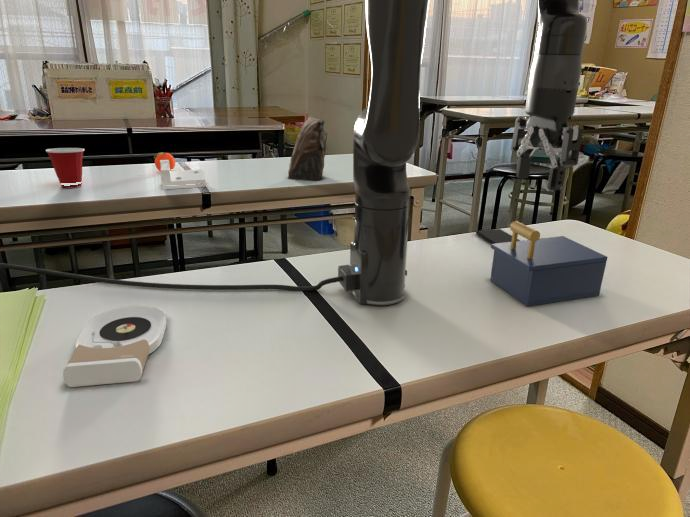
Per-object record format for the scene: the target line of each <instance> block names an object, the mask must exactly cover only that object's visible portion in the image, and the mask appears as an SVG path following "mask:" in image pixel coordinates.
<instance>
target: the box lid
mask: <svg viewBox="0 0 690 517" xmlns="http://www.w3.org/2000/svg"><path fill="white" fill-rule="evenodd" d="M509 230H510V231H511V232H512V241H511V242H504V243H495V244H492V243H490V244H491V245H490V249H492V250H493V251H494V250H495V251H497V252H499V253H500V254H502V255H504V256H505V257H507V258H508V259H510V260H512V261H513V262H515V263H517V264H518V265H520V266H522V267H523V268H525V269H526V270H528V271H534V270H541V269H549V268H557V267H564V266H572V265H580V264H587V263H595V262H603V261H606V262H607V261H608V256H607V255H604V254H602V253H600V252H598V251H596V250H594V249H592V248H590V247H588V246H586V245H584V244H581V243H579V242H577V241H575V240H573V239H570V238H569V237H566V236H564V235H561V236H549V237H541V232H540V231H539V230H536V229H535V228H532V227H530V226H528V225H526V224H524V223H523V222H520V221H519V220H514V221H512V222H510V225H509ZM518 235H519V236H521V237H523V238H524V239H525V240H523V239H522V240H520V241H517V239H518V237H519V236H518Z"/></svg>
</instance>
